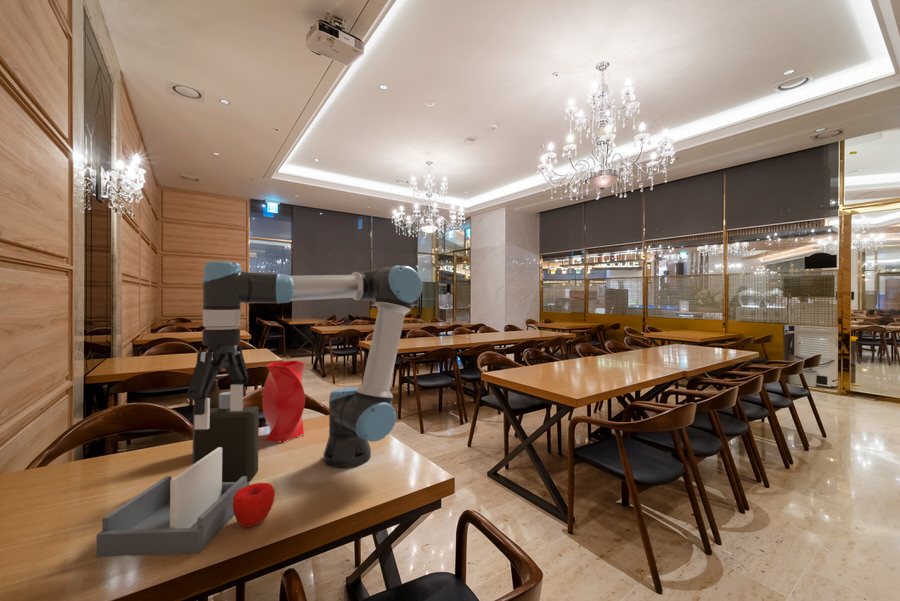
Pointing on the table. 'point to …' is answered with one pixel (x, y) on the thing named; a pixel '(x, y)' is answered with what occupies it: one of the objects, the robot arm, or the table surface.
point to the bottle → (230, 439)
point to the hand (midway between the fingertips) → (220, 419)
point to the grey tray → (162, 524)
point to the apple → (253, 503)
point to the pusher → (195, 490)
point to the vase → (284, 400)
